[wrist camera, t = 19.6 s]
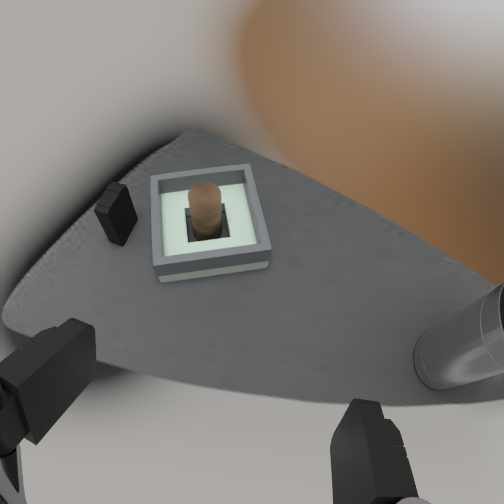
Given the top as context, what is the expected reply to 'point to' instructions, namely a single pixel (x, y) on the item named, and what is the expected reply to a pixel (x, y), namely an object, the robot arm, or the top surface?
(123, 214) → the ink cartridge
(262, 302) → the top surface
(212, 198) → the peg
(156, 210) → the socket box
